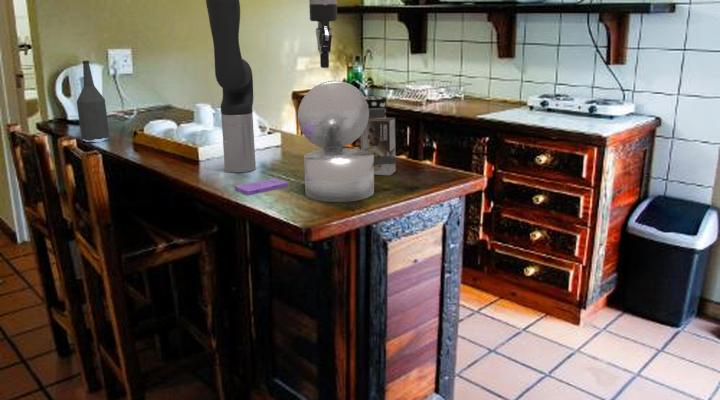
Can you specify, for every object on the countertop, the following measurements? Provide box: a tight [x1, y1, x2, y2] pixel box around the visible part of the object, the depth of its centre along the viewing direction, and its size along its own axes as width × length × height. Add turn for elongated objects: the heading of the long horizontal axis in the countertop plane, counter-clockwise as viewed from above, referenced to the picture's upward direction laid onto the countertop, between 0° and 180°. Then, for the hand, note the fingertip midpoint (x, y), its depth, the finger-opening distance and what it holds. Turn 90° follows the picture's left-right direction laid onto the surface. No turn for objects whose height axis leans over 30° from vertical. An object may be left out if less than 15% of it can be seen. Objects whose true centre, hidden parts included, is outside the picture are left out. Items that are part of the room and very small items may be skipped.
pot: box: [303, 147, 397, 203], centre depth 163 cm, size 24×18×10 cm
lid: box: [297, 80, 385, 149], centre depth 167 cm, size 24×20×3 cm
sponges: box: [234, 177, 289, 196], centre depth 169 cm, size 7×13×2 cm, turn 129°
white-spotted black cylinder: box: [359, 96, 387, 150], centre depth 198 cm, size 8×8×20 cm
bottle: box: [76, 60, 111, 140], centre depth 234 cm, size 10×10×30 cm
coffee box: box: [361, 116, 397, 176], centre depth 183 cm, size 9×6×16 cm
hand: (324, 67), depth 175 cm, fingers closed
